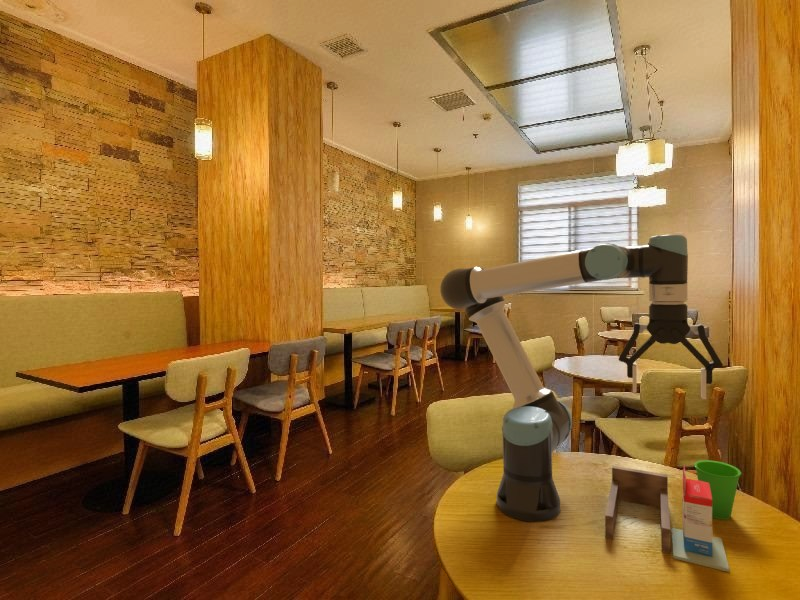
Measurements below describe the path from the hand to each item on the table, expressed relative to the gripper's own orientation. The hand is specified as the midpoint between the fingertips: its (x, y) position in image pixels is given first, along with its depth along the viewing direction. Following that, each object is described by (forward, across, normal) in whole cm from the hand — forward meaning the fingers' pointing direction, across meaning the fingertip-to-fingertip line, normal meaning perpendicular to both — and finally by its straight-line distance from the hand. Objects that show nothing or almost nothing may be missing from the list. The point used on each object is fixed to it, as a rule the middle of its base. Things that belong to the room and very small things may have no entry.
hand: (667, 394), depth 102 cm
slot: (+29, -6, -6) cm, 30 cm away
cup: (+29, +10, +6) cm, 31 cm away
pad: (+29, +5, -12) cm, 32 cm away
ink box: (+28, +5, -11) cm, 31 cm away
